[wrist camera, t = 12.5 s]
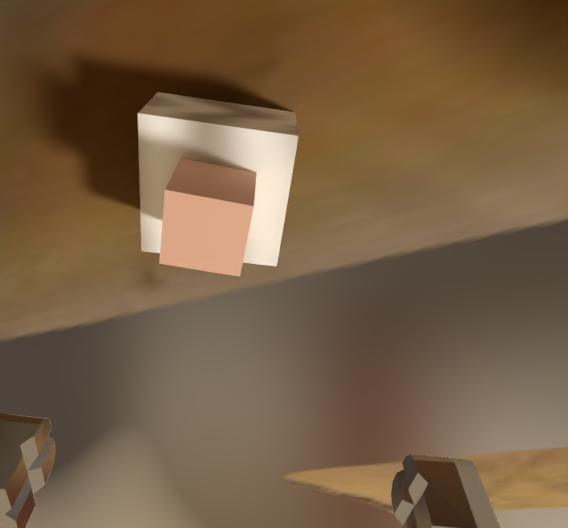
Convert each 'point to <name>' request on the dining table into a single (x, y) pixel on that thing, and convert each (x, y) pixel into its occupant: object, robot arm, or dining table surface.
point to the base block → (218, 160)
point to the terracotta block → (207, 217)
